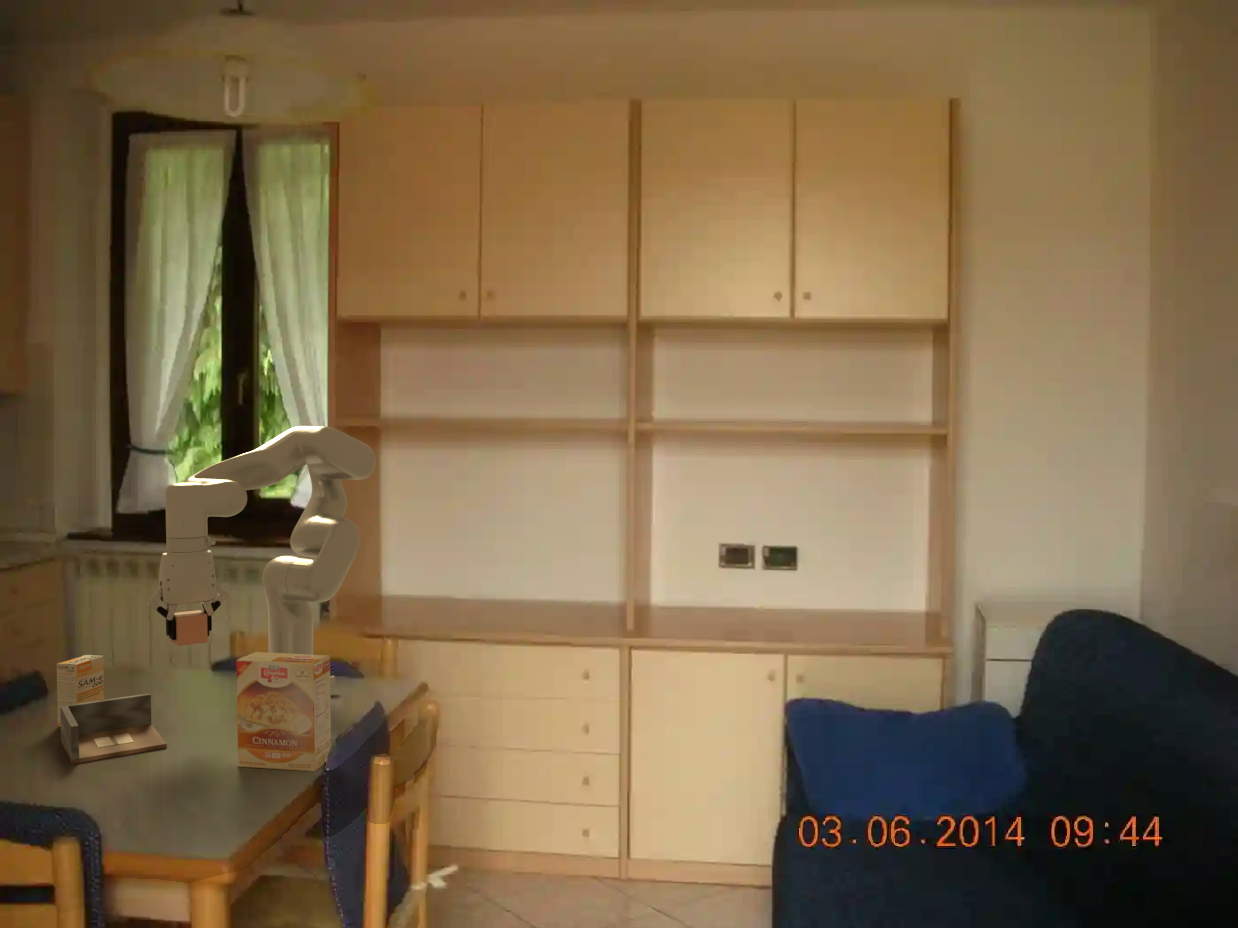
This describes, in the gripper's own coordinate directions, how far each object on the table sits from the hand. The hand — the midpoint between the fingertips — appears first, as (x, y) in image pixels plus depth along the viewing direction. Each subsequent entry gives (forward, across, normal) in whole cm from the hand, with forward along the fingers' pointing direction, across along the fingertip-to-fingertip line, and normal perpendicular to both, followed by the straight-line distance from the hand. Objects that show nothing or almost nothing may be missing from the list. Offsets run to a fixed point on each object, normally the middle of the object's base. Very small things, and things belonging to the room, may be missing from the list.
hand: (189, 635), depth 205 cm
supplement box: (+20, +16, -20) cm, 33 cm away
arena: (+19, +14, -1) cm, 24 cm away
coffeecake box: (+20, -10, +28) cm, 36 cm away
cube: (+1, 0, 0) cm, 1 cm away
